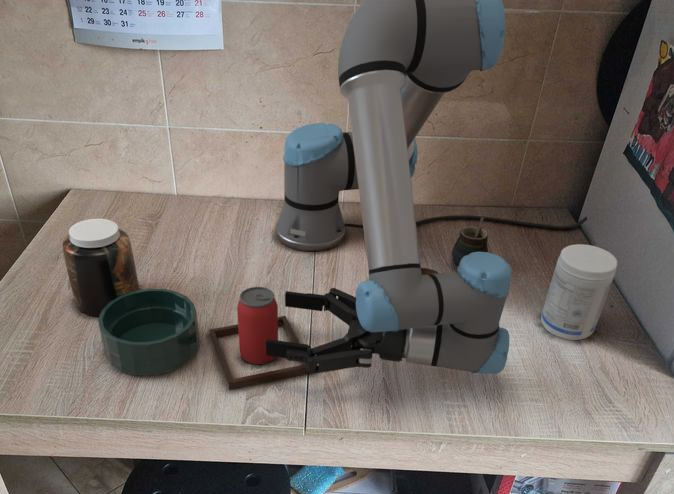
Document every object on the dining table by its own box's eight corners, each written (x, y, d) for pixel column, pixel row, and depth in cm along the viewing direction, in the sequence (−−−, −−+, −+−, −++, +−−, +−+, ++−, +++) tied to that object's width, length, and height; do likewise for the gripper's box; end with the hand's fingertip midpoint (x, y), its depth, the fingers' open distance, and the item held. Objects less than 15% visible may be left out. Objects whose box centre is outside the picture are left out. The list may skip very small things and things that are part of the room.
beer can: (273, 368, 108) (272, 310, 100) (235, 363, 109) (231, 304, 101) (282, 344, 113) (281, 287, 105) (245, 339, 114) (242, 282, 106)
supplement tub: (567, 306, 124) (590, 238, 115) (605, 334, 117) (632, 264, 108) (528, 318, 121) (548, 249, 111) (564, 347, 114) (589, 277, 105)
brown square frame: (285, 322, 118) (285, 315, 117) (311, 372, 107) (311, 366, 106) (209, 336, 115) (209, 329, 114) (229, 389, 104) (228, 383, 103)
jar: (83, 324, 116) (65, 252, 107) (70, 292, 124) (52, 221, 115) (147, 308, 121) (136, 236, 111) (130, 277, 129) (118, 208, 119)
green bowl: (190, 314, 120) (186, 282, 115) (207, 367, 108) (204, 334, 104) (102, 329, 115) (94, 297, 111) (110, 386, 104) (103, 352, 99)
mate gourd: (446, 271, 133) (454, 227, 127) (453, 254, 138) (461, 211, 132) (481, 279, 131) (491, 235, 125) (487, 261, 136) (497, 218, 130)
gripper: (397, 409, 96) (258, 389, 99) (409, 313, 115) (292, 298, 118) (403, 371, 91) (256, 351, 94) (414, 277, 110) (292, 263, 113)
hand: (276, 321), depth 106 cm, fingers open, 13 cm apart
